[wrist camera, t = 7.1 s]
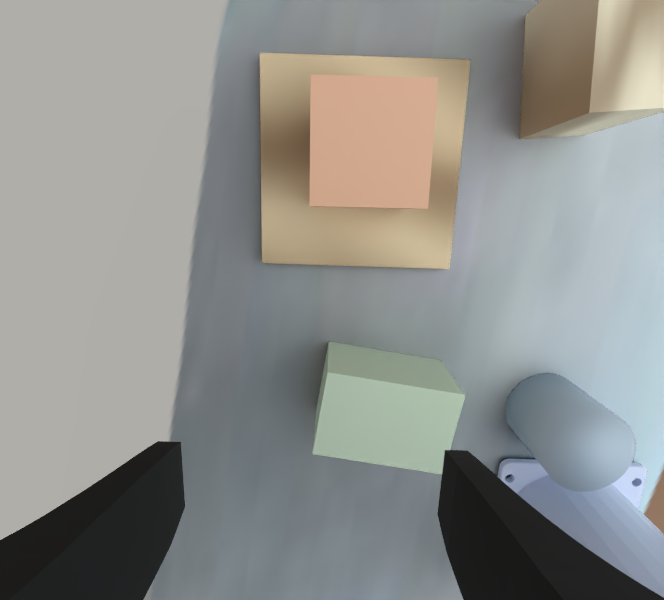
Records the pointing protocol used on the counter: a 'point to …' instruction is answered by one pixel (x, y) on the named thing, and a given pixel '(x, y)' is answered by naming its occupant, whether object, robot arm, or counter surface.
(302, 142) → the cork coaster
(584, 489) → the slate cylinder
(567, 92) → the beech block
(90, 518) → the robot arm
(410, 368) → the sage block
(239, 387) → the counter surface
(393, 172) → the terracotta cube
